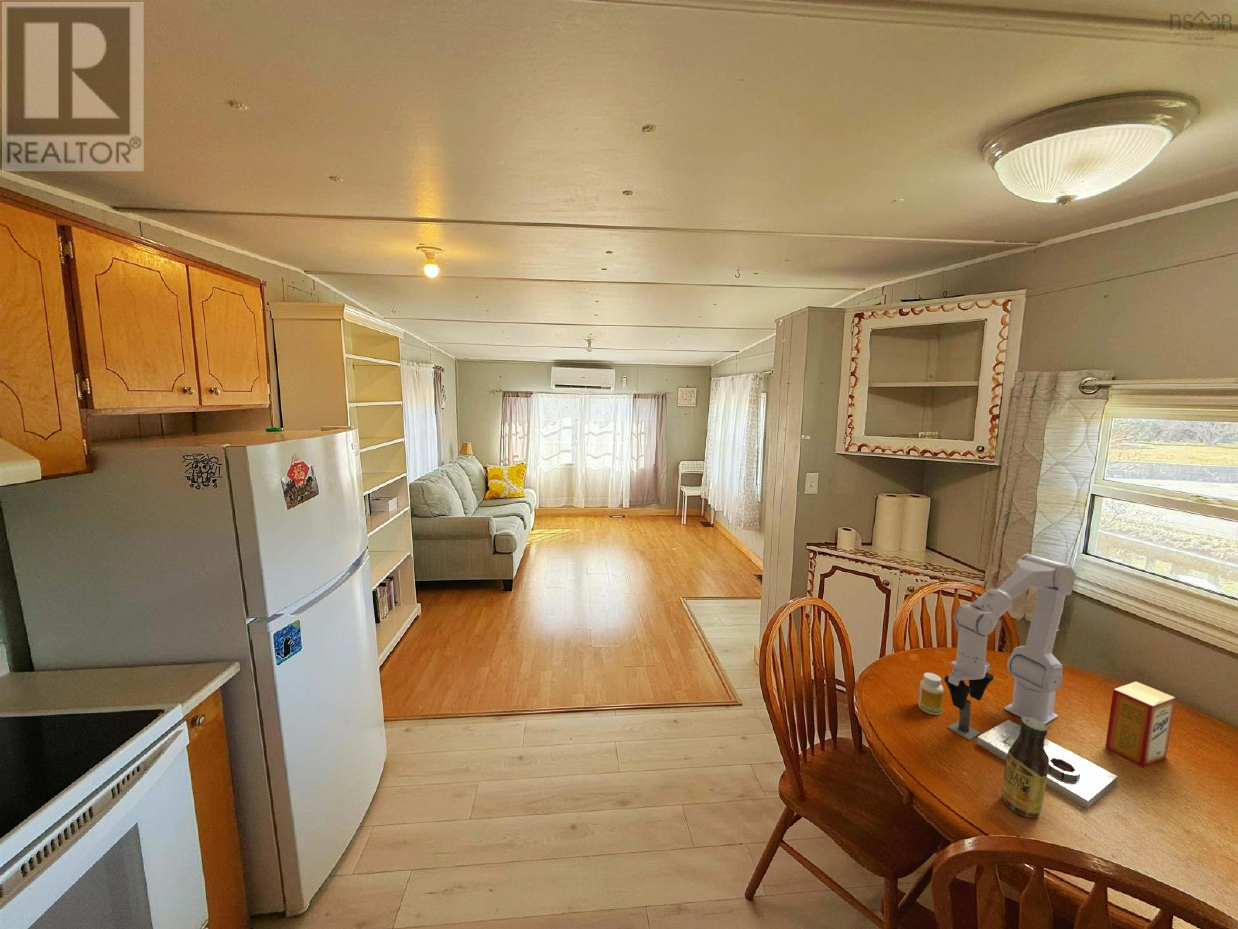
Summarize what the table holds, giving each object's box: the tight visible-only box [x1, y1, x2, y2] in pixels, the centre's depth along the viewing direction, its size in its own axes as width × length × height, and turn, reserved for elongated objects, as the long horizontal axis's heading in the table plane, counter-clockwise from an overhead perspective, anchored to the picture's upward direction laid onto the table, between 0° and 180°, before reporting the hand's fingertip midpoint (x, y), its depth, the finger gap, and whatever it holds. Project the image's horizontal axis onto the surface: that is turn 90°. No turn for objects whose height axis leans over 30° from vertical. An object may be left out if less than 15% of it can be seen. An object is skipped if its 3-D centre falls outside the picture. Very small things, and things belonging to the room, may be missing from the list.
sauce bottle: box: [1001, 717, 1049, 819], centre depth 92 cm, size 7×6×20 cm
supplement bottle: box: [917, 672, 944, 716], centre depth 123 cm, size 5×5×10 cm
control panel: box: [976, 719, 1118, 809], centre depth 104 cm, size 14×20×3 cm
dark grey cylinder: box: [958, 698, 972, 732], centre depth 114 cm, size 2×2×8 cm
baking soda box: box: [1105, 681, 1177, 769], centre depth 106 cm, size 10×6×16 cm
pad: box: [1005, 739, 1015, 746], centre depth 108 cm, size 2×2×2 cm
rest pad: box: [947, 720, 982, 741], centre depth 115 cm, size 5×5×1 cm
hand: (966, 702), depth 114 cm, fingers open, 7 cm apart
